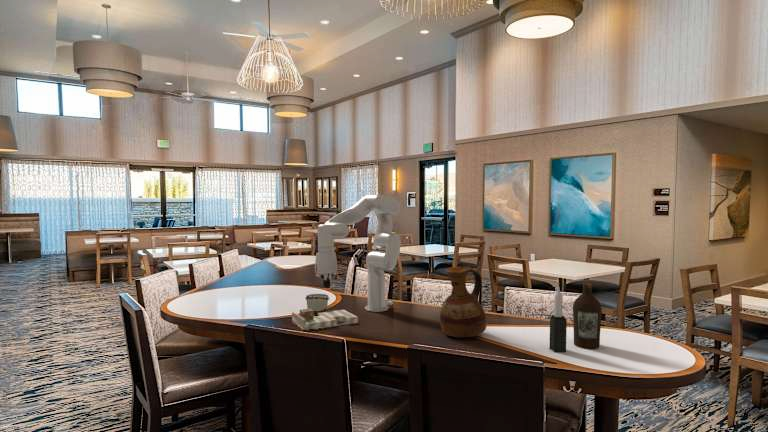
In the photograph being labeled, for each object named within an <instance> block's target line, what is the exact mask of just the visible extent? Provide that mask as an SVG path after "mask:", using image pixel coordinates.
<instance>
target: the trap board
mask: <svg viewBox="0 0 768 432" xmlns="http://www.w3.org/2000/svg"><path fill="white" fill-rule="evenodd" d="M291 314H292V315H291V322H292V324H294V326H296V325H297V326H296V327H297V328H299V327H300V328H301V329H300V328H299V329H300V330H302V329H303V330H307V331H310V330H309V329H314V330H320V329H319V328H321V329H325V328H326V329H328V328H333V327H340V326H346V325H351V324H358V321H359V320H358V318H359V316H357V315H355V314H353V313H351V312H348V311H347V310H346V309H340V310H339V309H337V310H331V311H330V310H329V311H327V312H322V313H318V316H315V315H313V319H312V320H305V319H304V318H303V317H301V316H300V314H299V313H296V312H295V311H291ZM303 330H302V331H303Z"/></svg>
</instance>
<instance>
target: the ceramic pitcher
mask: <svg viewBox="0 0 768 432" xmlns="http://www.w3.org/2000/svg"><path fill="white" fill-rule="evenodd" d="M445 273H446V274H448V275H449V276H450V285H451V287H452V289H451V294H450V295H448V297H447V298H446V299H445V300H444V302H443V304H442V306H441V308H440V313H439V323H440V328H441V331H442V332H443V333H444V334H445V335H446V336H447V335H448V336H449V337H454V338H470V337H476V336H478V335H480V334H482V333H483V332H485V331H486V329H487V317H486V312H485V310H484V308H483V306H482V304H481V303H480V301H479V296H480V292H481V288H482V276H481V275H480V273H479V272H478V271H477V270H475V269H474V268H471V267H470V266H456V267H453V266H452V267H448V268H446V269H445ZM469 273H472V274H473V276H474V277H473V278H474V286H473V290H472V292H469V291H468V289H467V285H466V277H467V275H468V274H469Z"/></svg>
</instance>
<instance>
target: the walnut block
mask: <svg viewBox="0 0 768 432" xmlns="http://www.w3.org/2000/svg"><path fill="white" fill-rule="evenodd" d="M299 315H300V316H301V317H303V318H304V319H305V320H312V319H313V316H314V315H313V310H311V309H307V308H304V309H299Z"/></svg>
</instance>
